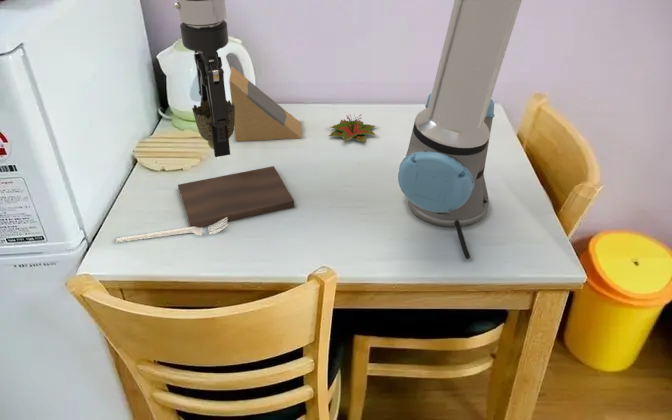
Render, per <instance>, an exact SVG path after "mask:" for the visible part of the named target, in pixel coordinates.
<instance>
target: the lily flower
mask: <svg viewBox="0 0 672 420" xmlns="http://www.w3.org/2000/svg"><path fill="white" fill-rule="evenodd" d="M361 116H362V114H359V115H358V118H357V116H356V115H355V114H354V115H353V117H354V119H353V120H352V118H351V117H352V114H349V115H346V119H347V120H346V119H345V118H343V119H340V121H339V123H337V124H335V125H332V126H330V128H331V129H334V130H333V131H331V132H330V134H329V135H328V137H339V138H342V139H343V141H344V143H346V142H348V141H349V140H351V139H353V140H356V141H359V142H362V143H366V139H367V136H366V135H370V136H376V134H375V132H373V129H374V128H375V127H376V125H373V124H367V123H365V124H364V121H361V119H362V117H361Z"/></svg>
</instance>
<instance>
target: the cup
mask: <svg viewBox="0 0 672 420" xmlns="http://www.w3.org/2000/svg"><path fill="white" fill-rule="evenodd" d="M226 102H227V110H228V118H229V121H230V123H229V125H227V128H228V137H229V139H230V138H231V137H232V135H233V134H234V132H235V127H234V123H235V105H234V103H233V104H232V101H231V99H228V100H227V99H226ZM191 111H192V113H193V116H194V121H195V124H196V127H197V130H198V133H199V135H200V137H201V138H202V139H203V140H204V141H207V145H208V146H209V148H211V149H212V150H214V146H213V138H212V130H211V126H208V123H209V122H211V121H212V119H211V113H210V108H209V102H208V100H207V101H206V102H205V101H204V100H201V99H200V106H199V105H198V106H197V105H196V104H194V105H193V107H192V108H191Z"/></svg>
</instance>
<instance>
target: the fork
mask: <svg viewBox="0 0 672 420" xmlns="http://www.w3.org/2000/svg"><path fill="white" fill-rule="evenodd" d="M225 219H227V217H226V218H224V219H222V220H220V221H219V222H217V223H215V224H213V225H210V226H206V227H207V231H208V234H209V235H214V234H218V233H220V232H221V231H223V230H224V229H225V228H227V227H228V226H229V222H226V221H227V220H228V219H227V220H225ZM224 220H225V221H224ZM222 221H223V222H222ZM203 228H204V227H201V228H199V227H194V226H193V227H190V226H188V227H187V226H186V227H182V228H174V229H167V230H161V231H155V232H149V233H142V234H136V235H130V236H129V235H128V236H123V237H117V238H116V241H115V243H116V244H117V243H125V242H131V241H138V240H139V241H140V240H146V239H155V238H161V237H168V236H169V237H170V236H176V235H183V234H194V235H196V236H203Z"/></svg>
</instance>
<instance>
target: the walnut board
mask: <svg viewBox="0 0 672 420" xmlns="http://www.w3.org/2000/svg"><path fill="white" fill-rule="evenodd" d="M177 188H178V192H179V196H180V199H181V202H182V206H183V209H184V212H185V216H186V219H187V222H188V225H189V227H193V226H194V227H199V228H201V227H203V228H206V227H207V226H209V227H211V226H210V225H213V224H215V223H217V222H219V221H220V220H222V219H224V218H226V217H227V219H228V220H227V219H225V220H227V221H226V222H228V223H229V222H233V221H237V220H242V219H247V218H252V217H257V216H260V215H261V216H262V215H265V214H269V213H270V214H271V213H275V212H279V211H283V210H288V209H289V210H290V209H292V208H293V209H294V208H295V200H294V198H293V197H292V195H291V193H290V191H289V190H288V188H287V186H286V185H285V182H284V181H283V179H282V178H281V176H280V174H279V172H278V171H277V169H276V167H275V166H274V165H273V166H266V167H262V168H256V169H252V170H246V171H242V172H241V171H240V172H236V173H231V174H226V175H225V174H224V175H221V176H220V175H219V176H215V177H209V178H204V179H200V180H195V181H190V182H184V183H179V184H177ZM225 220H224V221H225ZM222 222H223V221H222ZM226 222H225V223H226Z"/></svg>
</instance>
